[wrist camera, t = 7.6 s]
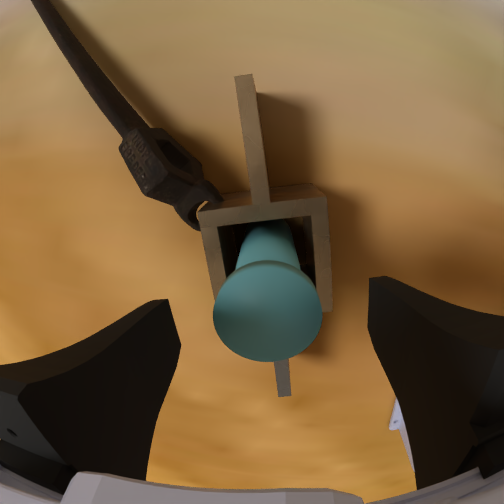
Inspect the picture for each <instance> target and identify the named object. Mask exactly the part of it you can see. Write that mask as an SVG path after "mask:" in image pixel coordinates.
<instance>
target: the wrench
mask: <svg viewBox="0 0 504 504" xmlns="http://www.w3.org/2000/svg"><path fill="white" fill-rule="evenodd" d="M31 1H32V3H33V5H34V6H35V8H36V10H37V11H38V13H39V15H40V17H41V19H42V20H43V22H44V24H45V25H46V27H47V29H48V30H49V32H50V34H51V35H52V37H53V39H54V40H55V42H56V43H57V45H58V47H59V48H60V50H61V51H62V53H63V54H64V56H65V57H66V59H67V60H68V62H69V64H70V65H71V67H72V68H73V70H74V71H75V73H76V74H77V76H78V77H79V79H80V80H81V82H82V84H83V85H84V87H85V88H86V89H87V91H88V92H89V94H90V96H91V97H92V98H93V100H94V101H95V103H96V104H97V105H98V107H99V108H100V109H101V111H102V112H103V113H104V115H105V116H106V117H107V119H108V120H109V121H110V122H111V124H112V125H113V126H114V128H115V129H116V130H117V131H118V133H119V134H120V135H121V137H122V138H123V140H122V143H121V144H120V146H119V151H120V153H121V155H122V157H123V159H124V161H125V163H126V165H127V167H128V168H129V170H130V172H131V174H132V176H133V177H134V179H135V181H136V183H137V184H138V186H139V188H140V190H141V192H142V193H143V194H144V195H145V196H147V197H150V198H153V199H155V200H158V201H161V202H164V203H167V204H169V205H172V206H173V207H174V209H175V211H176V212H177V214H178V215H179V216H180V217H181V218H182V219H183V221H184V222H186V223H187V224H188V225H189V226H191V227H192V228H193V229H195V230H197V231H201V229H200V223H199V221H198V220H197V217H196V211H197V209H198V207H199V206H200V205H201V204H202V203H203V202H204V201H209V202H211V203H213V204H216V203H220V202H223V201H224V199H223V198H222V196H221V195H220V193H219V192H218V190H217V189H216V188H215V187H214V186H213V184H212V183H210V182H209V181H207V180H205V179H204V177H203V172H202V165H201V163H200V162H199V161H198V160H197V159H196V158H194V157H193V156H192V155H191V154H190V153H189V152H188V151H186V150H185V149H184V148H183V147H182V146H181V145H180V144H179V143H178V142H176V141H175V140H174V139H173V138H172V137H171V136H170V135H169V134H168V133H167V132H166V131H165V130H163V129H162V128H150V127H149V126H148V125H147V124H146V123H145V121H144V120H143V119H142V118H141V117H140V116H139V115H138V113H137V112H136V111H135V110H134V109H133V107H132V106H131V105H130V104H129V103H128V102H127V100H126V99H125V98H124V97H123V96H122V95H121V93H120V92H119V91H118V90H117V89H116V87H115V86H114V85H113V84H112V82H111V81H110V80H109V79H108V77H107V76H106V75H105V74H104V73H103V71H102V70H101V69H100V67H99V66H98V65H97V64H96V62H95V61H94V60H93V59H92V57H91V56H90V55H89V54H88V52H87V51H86V50H85V48H84V47H83V46H82V45H81V43H80V42H79V41H78V39H77V38H76V37H75V35H74V34H73V33H72V31H71V30H70V28H69V27H68V26H67V24H66V23H65V22H64V20H63V19H62V17H61V16H60V15H59V13H58V12H57V11H56V9H55V8H54V6H53V5H52V4H51V2H50V1H49V0H31Z"/></svg>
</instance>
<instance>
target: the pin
mask: <svg viewBox="0 0 504 504" xmlns="http://www.w3.org/2000/svg"><path fill="white" fill-rule="evenodd" d="M213 322H214V326H215V329H216V332H217V334H218V336H219V337H220V339H221V340H222V342H223V343H224V344H225V345H226V346H227V347H228V348H229V349H231V350H232V351H233V352H235V353H236V354H238V355H240V356H242V357H245V358H247V359H251V360H255V361H261V362H274V361H280V360H285V359H288V358H291V357H293V356H295V355H297V354H299V353H300V352H302V351H303V350H305V349H306V348H307V347H308V346H309V345H310V344H311V343H312V342H313V341H314V339H315V338H316V336H317V334H318V333H319V330H320V327H321V323H322V307H321V303H320V300H319V296H318V293H317V290H316V288H315V286H314V284H313V283H312V281H311V280H310V279H309V277H308V276H307V275H306V274H305V273H303V272H302V271H301V269H300V265H299V261H298V257H297V253H296V249H295V245H294V241H293V237H292V233H291V230H290V227H289V225H288V224H287V223H286V221H285V220H283V219H274V220H265V221H257V222H250V223H249V224H248V226H247V227H246V230H245V234H244V238H243V242H242V245H241V249H240V253H239V257H238V261H237V265H236V269H235V271H234V272H232V273H231V274H230V275H229V276H228V277H227V278H226V279H225V281H224V282H223V284H222V286H221V287H220V289H219V292H218V295H217V298H216V301H215V305H214V309H213Z"/></svg>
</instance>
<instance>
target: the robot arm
mask: <svg viewBox="0 0 504 504" xmlns="http://www.w3.org/2000/svg"><path fill="white" fill-rule="evenodd" d="M368 331H369V334H370V337H371V341H372V344H373V347H374V350H375V352H376V354H377V356H378V358H379V360H380V362H381V365H382V367H383V369H384V371H385V373H386V375H387V377H388V380H389V382H390V384H391V386H392V388H393V390H394V393H395V395H396V400H395V404H394V408H393V412H392V416H391V420H390V424H389V429H390V430H396V429H399V431H400V434H401V437H402V439H403V442H404V445H405V448H406V451H407V454H408V457H409V460H410V463H411V466H412V469H413V471H414V472H415V478H416V486H417V490H416V491H413V492H410V493H406V494H403V495H399V496H395V497H392V498H388V499H384V500H379V501H375V502H371V503H366V504H504V316H498V315H493V314H487V313H482V312H478V311H474V310H470V309H467V308H463V307H460V306H457V305H454V304H451V303H448V302H446V301H443V300H440V299H438V298H435V297H433V296H431V295H428V294H426V293H424V292H422V291H419V290H417V289H415V288H413V287H411V286H409V285H407V284H404V283H402V282H400V281H398V280H395V279H393V278H390V277H387V276H381V277H374V278H369V306H368ZM180 349H181V342H180V339H179V336H178V332H177V329H176V326H175V322H174V319H173V315H172V312H171V308H170V305H169V301H168V299H161V300H152V301H150V302H147V303H145V304H144V305H142V306H140V307H138V308H137V309H135V310H133V311H132V312H130V313H129V314H127V315H125V316H124V317H122V318H121V319H119V320H117V321H116V322H114V323H112V324H111V325H109V326H107V327H106V328H104V329H102V330H100V331H99V332H97V333H95V334H94V335H92V336H90V337H88V338H86V339H84V340H82V341H80V342H78V343H75V344H73V345H71V346H69V347H66V348H64V349H61V350H58V351H55V352H53V353H50V354H47V355H44V356H41V357H38V358H34V359H30V360H26V361H22V362H17V363H12V364H5V365H0V439H1V440H0V504H364V502H363V500H362V498H361V497H358V496H356V495H354V494H350V493H345V492H341V491H337V490H333V489H329V488H278V489H213V488H198V487H186V486H177V485H169V484H161V483H154V482H148V481H146V474H147V466H148V460H149V454H150V448H151V443H152V438H153V434H154V429H155V425H156V421H157V418H158V415H159V412H160V409H161V406H162V404H163V401H164V399H165V396H166V393H167V391H168V388H169V386H170V383H171V380H172V378H173V375H174V372H175V370H176V367H177V363H178V359H179V354H180Z"/></svg>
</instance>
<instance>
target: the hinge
mask: <svg viewBox="0 0 504 504" xmlns="http://www.w3.org/2000/svg"><path fill="white" fill-rule="evenodd" d="M234 78H235V85H236V91H237V98H238V105H239V112H240V119H241V126H242V133H243V140H244V147H245V154H246V161H247V168H248V175H249V182H250V189H251V190H249V191H241V192H234V193H226V194H220V195H221V196H222V198H223V199H224V201H223V202H220V203H216V204H213V203H211V202H209V201H208V202H207V203H206V204H205V205H204V206H203V207H202V208H201V209H200V210H199V211H198V218H199V223H200V229H201V234H202V240H203V245H204V250H205V255H206V260H207V265H208V270H209V275H210V280H211V285H212V290H213V295H214V299H215V301H216V298H217V295H218V292H219V289H220V287H221V286H222V284H223V282H224V281H225V279H226V278H227V277H228V276H229V275H230V274H231V273H232V272H234V271H235V269H236V265H237V261H238V255H237V249H236V243H235V237H234V230H233V224H240V223H248V222H257V221H265V220H274V219H282V218H291V217H300V216H302V218H303V229H304V240H305V251H306V263H307V264H300V269H301V271H302V272H303V273H305V274H306V275H307V276H308V277H309V279H310V280H311V281H312V283H313V284H314V286H315V288H316V290H317V293H318V296H319V300H320V303H321V307H322V313H323V312H331V311H333V303H332V272H331V251H330V234H329V220H328V207H327V196H325V195H324V194H323V193H322V192H321V191H320V190H319V189H318V188H317V187H315V186H314V185H313V184H312V183H310V184H300V185H291V186H282V187H273V188H270V186H269V178H268V171H267V163H266V156H265V149H264V141H263V134H262V127H261V120H260V113H259V106H258V99H257V93H256V88H255V84H254V80H253V75H252V74H248V75H241V76H234ZM274 366H275V374H276V381H277V389H278V397H284V396H291V385H290V371H289V358H288V359H285V360H280V361H274Z"/></svg>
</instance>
